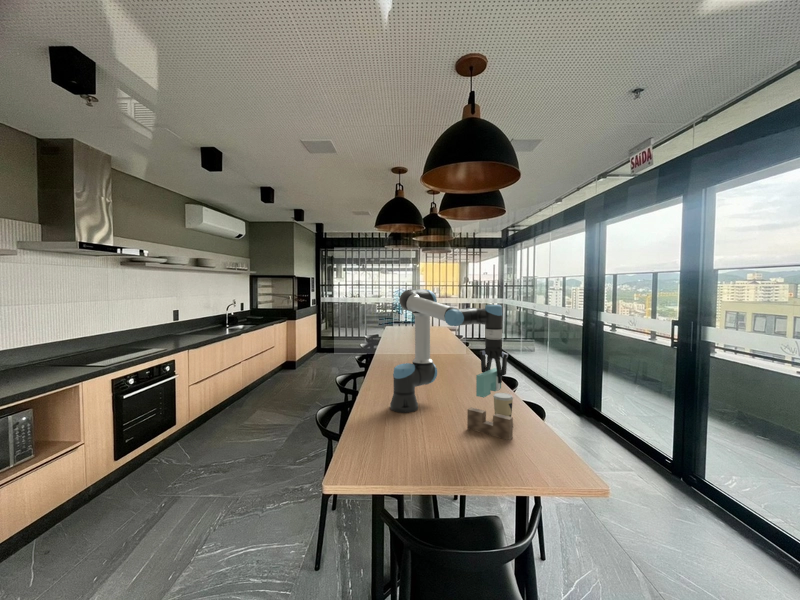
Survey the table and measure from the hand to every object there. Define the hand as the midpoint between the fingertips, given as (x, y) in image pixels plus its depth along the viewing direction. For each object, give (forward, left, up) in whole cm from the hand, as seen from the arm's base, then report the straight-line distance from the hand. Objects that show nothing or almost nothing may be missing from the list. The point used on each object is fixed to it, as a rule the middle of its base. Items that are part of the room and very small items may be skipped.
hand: (493, 389), depth 156 cm
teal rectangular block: (0, -4, 0) cm, 5 cm away
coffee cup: (-2, +16, -19) cm, 25 cm away
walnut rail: (0, -4, -19) cm, 19 cm away
